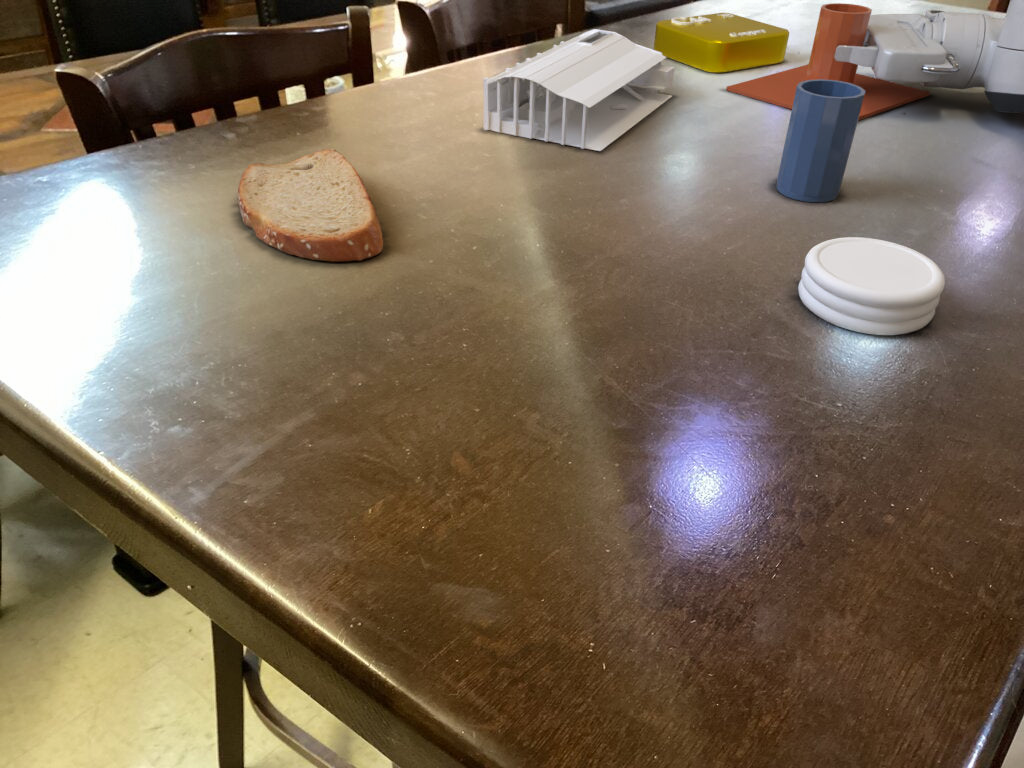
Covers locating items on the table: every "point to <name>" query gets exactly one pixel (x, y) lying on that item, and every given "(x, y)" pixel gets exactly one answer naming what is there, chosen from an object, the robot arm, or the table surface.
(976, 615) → the table surface
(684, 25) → the element tile
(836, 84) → the blue cup
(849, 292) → the coaster
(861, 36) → the terracotta cup
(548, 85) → the model shed
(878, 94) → the terracotta mat
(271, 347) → the table surface
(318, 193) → the bread slice
